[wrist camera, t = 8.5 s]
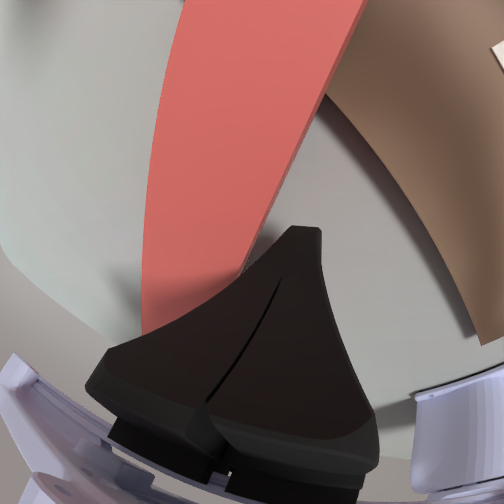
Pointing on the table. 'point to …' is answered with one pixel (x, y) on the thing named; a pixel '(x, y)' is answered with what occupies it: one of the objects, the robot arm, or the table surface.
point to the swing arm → (230, 137)
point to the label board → (438, 129)
